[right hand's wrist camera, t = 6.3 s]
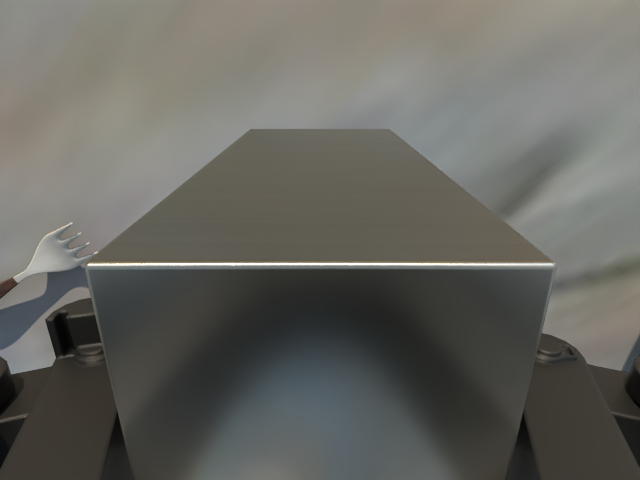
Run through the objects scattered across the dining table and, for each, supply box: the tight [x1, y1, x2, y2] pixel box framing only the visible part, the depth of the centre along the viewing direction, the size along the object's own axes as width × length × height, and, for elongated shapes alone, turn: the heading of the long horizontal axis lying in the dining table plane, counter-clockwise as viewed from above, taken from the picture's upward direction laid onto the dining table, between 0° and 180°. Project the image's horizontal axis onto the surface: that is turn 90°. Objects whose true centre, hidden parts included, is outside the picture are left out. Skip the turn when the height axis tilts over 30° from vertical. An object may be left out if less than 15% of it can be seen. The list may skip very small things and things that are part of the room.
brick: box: [84, 129, 556, 480], centre depth 11 cm, size 8×5×12 cm
